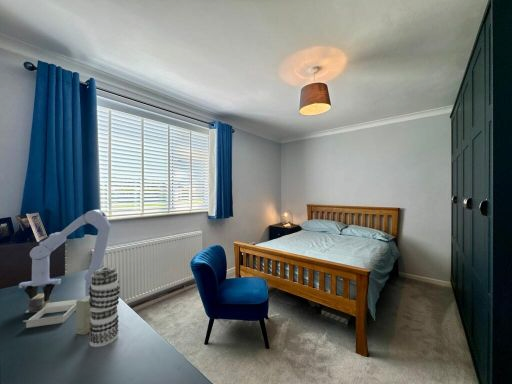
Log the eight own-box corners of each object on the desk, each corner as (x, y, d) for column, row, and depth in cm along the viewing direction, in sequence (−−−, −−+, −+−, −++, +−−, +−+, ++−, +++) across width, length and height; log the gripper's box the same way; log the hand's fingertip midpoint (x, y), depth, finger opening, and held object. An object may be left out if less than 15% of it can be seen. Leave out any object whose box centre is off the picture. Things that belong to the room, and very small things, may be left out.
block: (49, 303, 102) (49, 292, 102) (39, 310, 96) (40, 299, 96) (39, 304, 101) (39, 293, 101) (28, 312, 94) (28, 300, 95)
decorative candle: (88, 337, 79) (88, 268, 79) (118, 327, 84) (118, 263, 85) (87, 351, 71) (88, 275, 72) (120, 340, 77) (121, 269, 77)
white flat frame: (78, 307, 100) (78, 299, 100) (60, 325, 86) (60, 316, 86) (46, 311, 96) (46, 302, 96) (22, 330, 82) (22, 321, 82)
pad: (54, 303, 103) (54, 302, 103) (44, 310, 97) (44, 309, 97) (36, 305, 101) (36, 304, 101) (25, 313, 94) (25, 312, 95)
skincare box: (84, 335, 80) (85, 302, 80) (74, 333, 80) (75, 300, 81) (100, 325, 86) (100, 294, 86) (91, 324, 87) (91, 293, 87)
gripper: (13, 276, 93) (13, 308, 93) (55, 273, 97) (54, 303, 97) (25, 270, 100) (25, 300, 100) (63, 267, 104) (63, 296, 104)
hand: (40, 301), depth 99 cm, fingers closed on block, 4 cm apart
